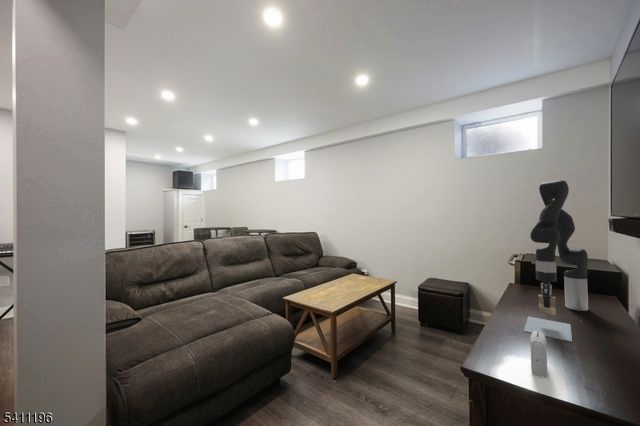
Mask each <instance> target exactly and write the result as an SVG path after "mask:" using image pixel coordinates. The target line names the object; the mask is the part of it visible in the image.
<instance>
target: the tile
mask: <svg viewBox="0 0 640 426" xmlns="http://www.w3.org/2000/svg"><path fill="white" fill-rule="evenodd" d="M546 297H548V296H546ZM537 298H538V313H540V314H546V315H550V316H551V315H552V316H556V315H557V314H556V313H557V312H556V311H557V308H556V296H552V295H551V296H550V308H546V307H544V299H543V294H538V297H537Z"/></svg>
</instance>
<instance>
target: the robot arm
mask: <svg viewBox="0 0 640 426" xmlns="http://www.w3.org/2000/svg"><path fill="white" fill-rule="evenodd" d="M538 190H539V194H540V195H539V196H540V197H541V199H542V201H543V204H544V206H545V207H544V208H542V210H541V212H540V214H539V217H538V221H537V223H536V224H535V226H534V227H533V228H532V230H531V231H530V235H529V237H530V239H531V241H532V242H533V243H537V244H548V246H546V247H538V248H536V250H535V279H536V280H537V281H540V288H541V295H543V299H544V307H546V308H550V296H551V297H552V289H553V288H552V287H553V285H552V284H551V282H552V283H554V282H557V281H558V280H557V279H558V276H557V264H556V263H557V262H556V251H558V255H559V256H558V257H559V260H560V261H561V263H562V264H564V265H569V266H570V265H571V266H576V268H574V269H569V270H565V271H564V272H563V279H564V280H563V281H564V304H565V305H564V306H565V307H566V308H567V309H569V310H575V311H581V312H587V311H588V310H589V294H588V260H589V257H588V256H589V255H588V252H587V251H586V250H585V249H583V248H570V247H568V242H569V240H570V238H571V237H572V236H573V234H574V232H575V229H576V226H575V223H574V220H573V217H572V216H571V215H570V214H569V213H568V212H567V211H565V210H564V209H563V206H564V204H565V202H566V201H567V199H568V196H569V191H570V190H569V185H568V182H567V181H565V180H553V181H547V182H542V183H540V185H539V189H538ZM541 282H542V283H541ZM546 296H548V297H546Z"/></svg>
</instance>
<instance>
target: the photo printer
mask: <svg viewBox="0 0 640 426" xmlns="http://www.w3.org/2000/svg"><path fill="white" fill-rule="evenodd" d="M529 340H530V341H529V344H530V345H529V346H530V369H531V373H533V375H535V374H536V376H538V377H541V376H544V377H546V376H547V373H548V354H547V351H548V350H547V337H546V336H544V334H543V333H541V332H537V331H534V332H533V333H530V336H529Z"/></svg>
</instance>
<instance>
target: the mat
mask: <svg viewBox="0 0 640 426" xmlns="http://www.w3.org/2000/svg"><path fill="white" fill-rule="evenodd" d="M534 331H537V332H541V333H543V334H544V336H545V338H552V339H556V340H560V341H565V342H566V341H567V342H571V343H573V338H572V326H571V324H570V323H565V322H560V321H559V322H558V321H554V320H550V319H549V320H548V319H543V318H540V317H533V316H527V319H526V323H525V325H524V329H523V332H525V333H529V334H532V333H533V332H534Z"/></svg>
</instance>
